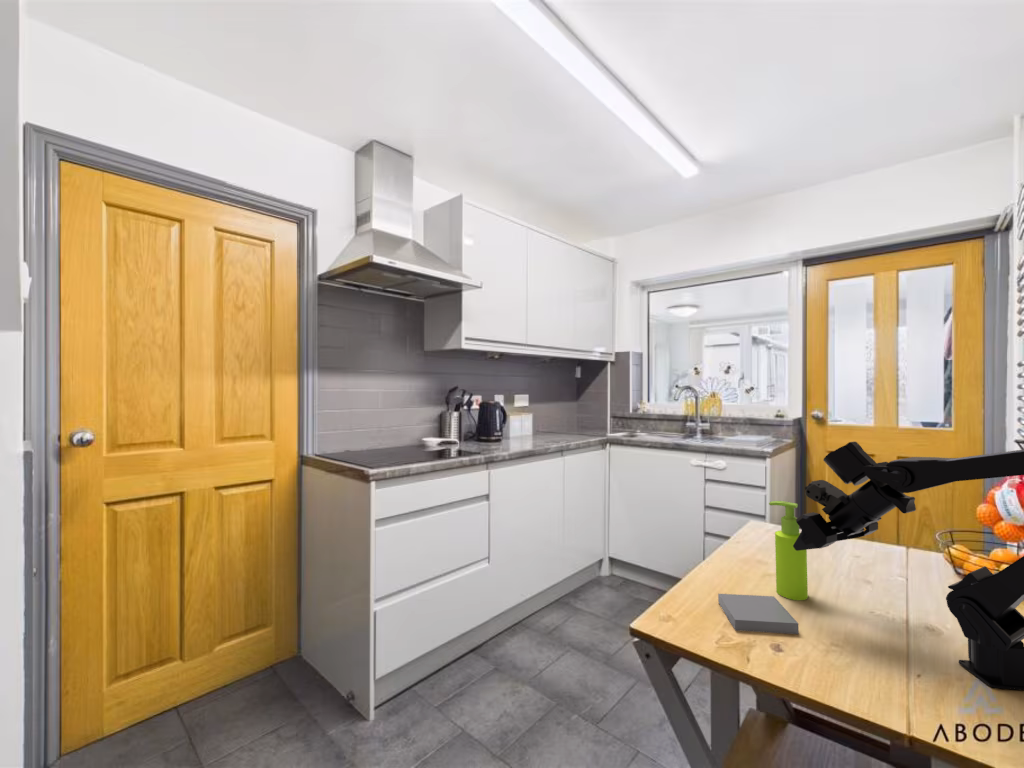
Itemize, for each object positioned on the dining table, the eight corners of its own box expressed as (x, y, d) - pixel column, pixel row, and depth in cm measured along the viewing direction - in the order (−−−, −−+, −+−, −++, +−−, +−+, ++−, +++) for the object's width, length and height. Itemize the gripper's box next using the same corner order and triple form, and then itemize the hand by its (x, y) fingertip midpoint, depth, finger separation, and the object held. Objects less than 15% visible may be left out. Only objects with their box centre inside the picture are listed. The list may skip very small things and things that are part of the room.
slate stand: (798, 634, 84) (798, 623, 84) (735, 630, 86) (734, 619, 86) (774, 605, 95) (774, 596, 95) (718, 603, 97) (718, 593, 97)
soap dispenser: (773, 584, 105) (771, 497, 106) (809, 592, 101) (807, 502, 101) (768, 594, 101) (766, 503, 101) (805, 602, 96) (803, 507, 97)
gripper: (860, 465, 96) (807, 505, 106) (805, 474, 88) (754, 517, 98) (906, 512, 89) (845, 550, 99) (851, 526, 81) (790, 566, 91)
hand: (808, 544), depth 97 cm, fingers open, 9 cm apart
